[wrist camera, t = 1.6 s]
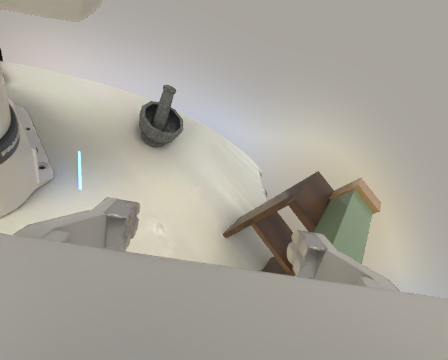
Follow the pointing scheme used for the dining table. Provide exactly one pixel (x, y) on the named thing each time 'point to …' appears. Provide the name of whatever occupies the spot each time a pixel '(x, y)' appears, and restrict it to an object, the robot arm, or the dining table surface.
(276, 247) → the rack
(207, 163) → the dining table surface
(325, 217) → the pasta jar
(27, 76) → the dining table surface
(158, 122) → the mortar and pestle
